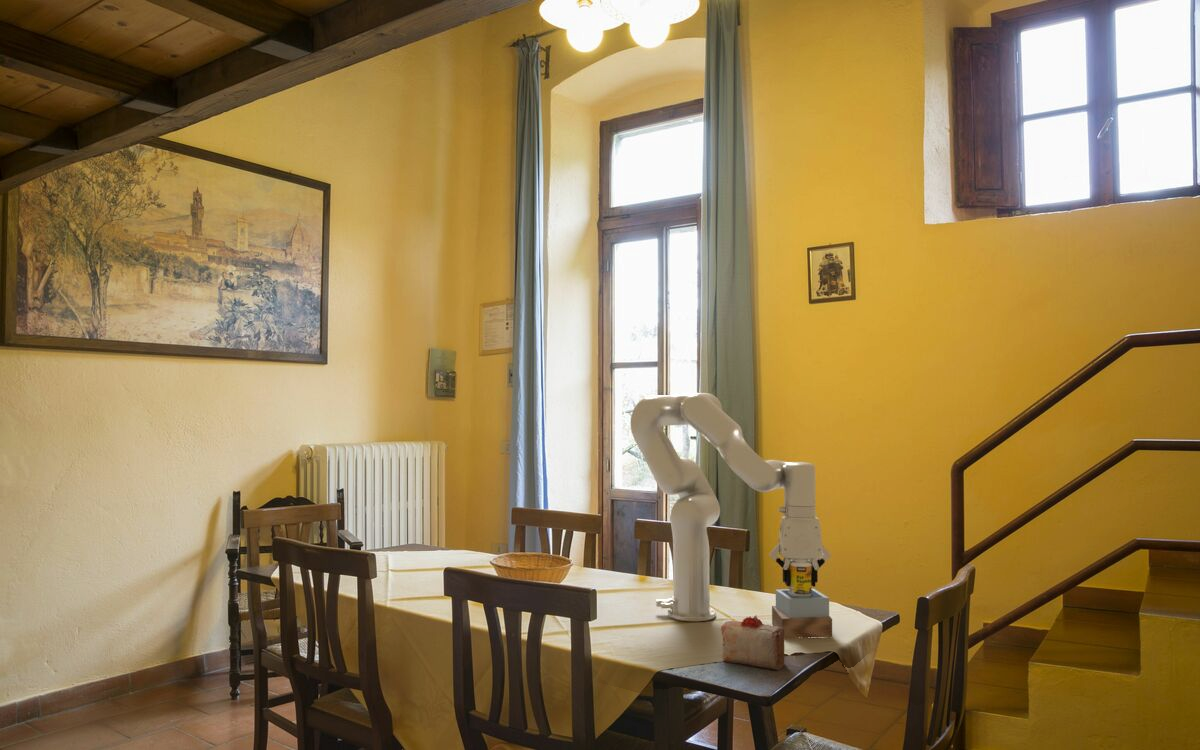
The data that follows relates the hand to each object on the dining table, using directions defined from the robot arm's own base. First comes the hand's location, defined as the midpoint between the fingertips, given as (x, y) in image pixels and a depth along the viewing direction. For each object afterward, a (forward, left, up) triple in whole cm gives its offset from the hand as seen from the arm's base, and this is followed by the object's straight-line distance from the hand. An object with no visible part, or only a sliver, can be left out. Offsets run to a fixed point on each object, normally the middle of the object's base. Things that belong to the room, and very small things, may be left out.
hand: (800, 584), depth 202 cm
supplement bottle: (0, 0, -3) cm, 3 cm away
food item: (-16, -25, -12) cm, 31 cm away
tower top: (0, 0, -7) cm, 7 cm away
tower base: (0, 0, -12) cm, 12 cm away
